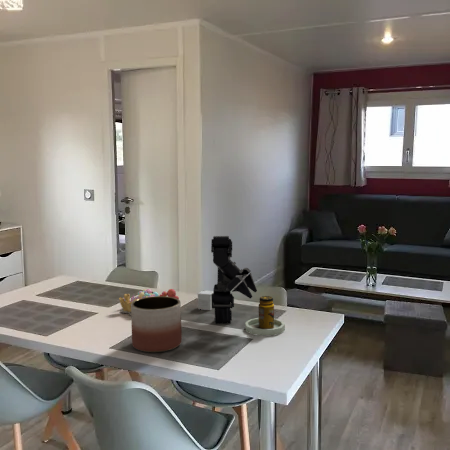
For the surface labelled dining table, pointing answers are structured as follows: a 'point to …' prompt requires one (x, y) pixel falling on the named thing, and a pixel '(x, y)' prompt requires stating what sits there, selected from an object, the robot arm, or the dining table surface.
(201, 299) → the skincare box
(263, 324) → the condiment
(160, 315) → the planter
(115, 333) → the dining table surface
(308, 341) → the dining table surface
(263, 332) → the round tray
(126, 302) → the candy landscape model
